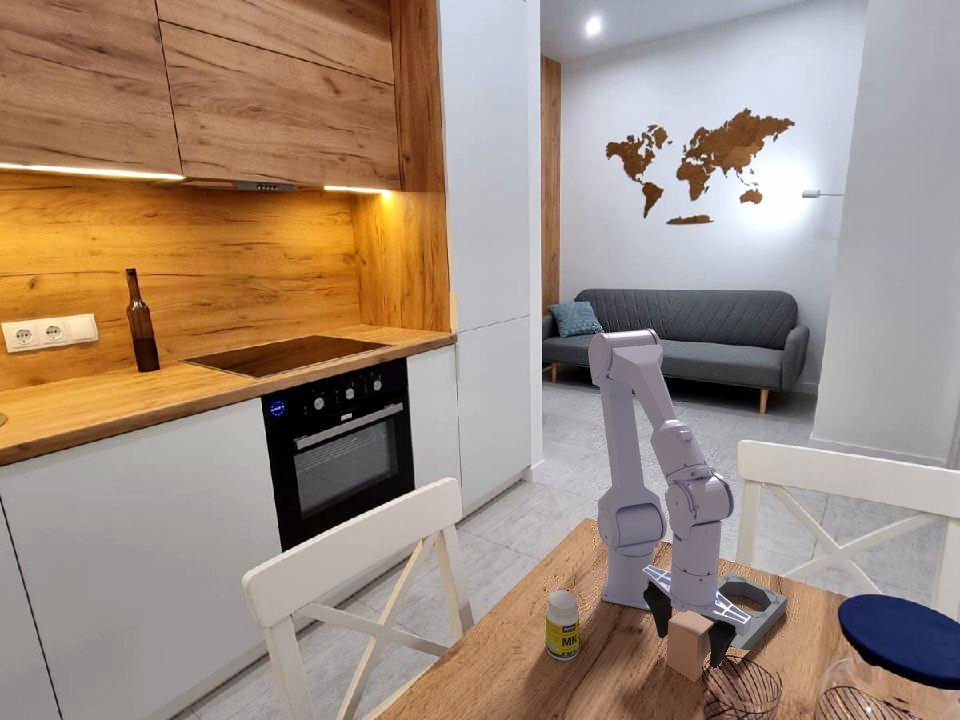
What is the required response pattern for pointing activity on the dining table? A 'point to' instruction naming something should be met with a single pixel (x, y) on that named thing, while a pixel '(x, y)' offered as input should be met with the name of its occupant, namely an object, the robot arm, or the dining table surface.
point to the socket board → (759, 620)
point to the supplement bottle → (562, 626)
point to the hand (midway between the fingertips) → (689, 649)
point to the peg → (688, 643)
